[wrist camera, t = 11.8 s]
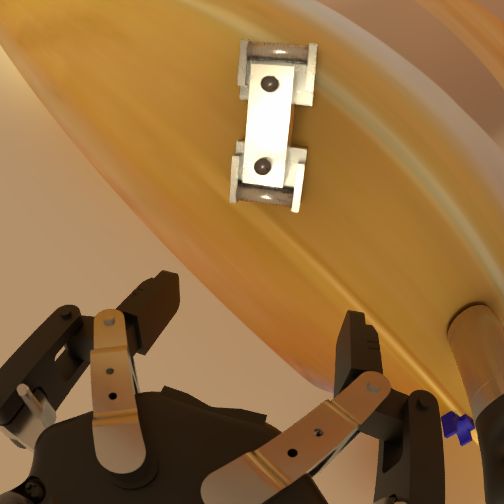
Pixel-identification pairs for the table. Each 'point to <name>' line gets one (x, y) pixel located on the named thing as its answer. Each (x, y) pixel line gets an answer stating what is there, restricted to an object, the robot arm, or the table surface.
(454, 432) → the cable clip
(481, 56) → the table surface
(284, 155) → the metal block with bolts
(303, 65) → the chain ends
